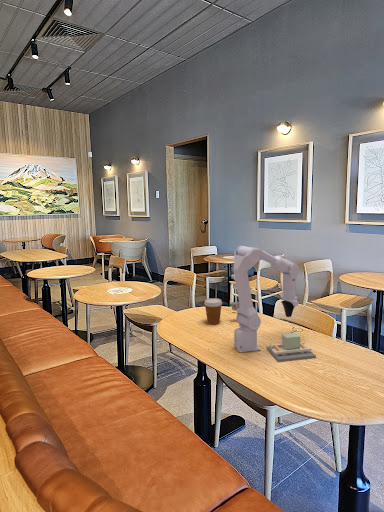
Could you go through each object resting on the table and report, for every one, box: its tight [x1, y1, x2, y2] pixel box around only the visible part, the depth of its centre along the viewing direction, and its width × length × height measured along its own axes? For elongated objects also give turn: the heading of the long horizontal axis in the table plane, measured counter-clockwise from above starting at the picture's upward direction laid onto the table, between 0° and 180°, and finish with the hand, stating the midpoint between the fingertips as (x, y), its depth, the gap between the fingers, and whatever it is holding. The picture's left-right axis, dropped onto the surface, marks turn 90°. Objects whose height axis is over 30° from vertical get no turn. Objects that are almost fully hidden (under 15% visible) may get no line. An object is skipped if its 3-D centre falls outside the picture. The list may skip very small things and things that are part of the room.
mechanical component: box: [229, 301, 240, 312], centre depth 176 cm, size 3×10×10 cm, turn 89°
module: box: [281, 332, 301, 350], centre depth 138 cm, size 6×4×6 cm, turn 99°
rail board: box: [265, 341, 317, 363], centre depth 138 cm, size 16×12×3 cm
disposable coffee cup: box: [203, 297, 223, 326], centre depth 175 cm, size 10×10×12 cm
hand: (288, 316), depth 154 cm, fingers closed
